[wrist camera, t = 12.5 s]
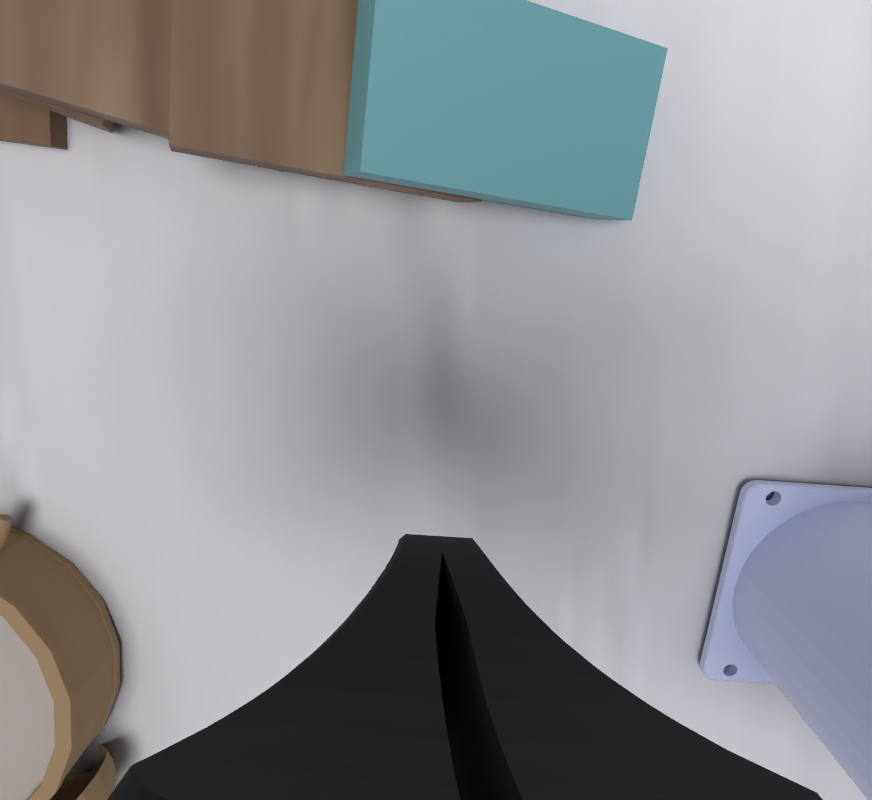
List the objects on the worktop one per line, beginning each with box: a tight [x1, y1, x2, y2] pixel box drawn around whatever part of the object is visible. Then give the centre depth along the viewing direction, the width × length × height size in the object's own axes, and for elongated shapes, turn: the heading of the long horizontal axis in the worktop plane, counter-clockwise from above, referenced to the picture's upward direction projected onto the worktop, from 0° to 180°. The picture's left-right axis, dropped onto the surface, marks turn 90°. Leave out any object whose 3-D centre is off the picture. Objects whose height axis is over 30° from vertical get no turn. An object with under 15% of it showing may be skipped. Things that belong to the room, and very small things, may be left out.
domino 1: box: [0, 0, 283, 172], centre depth 14 cm, size 2×4×8 cm
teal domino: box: [344, 0, 667, 220], centre depth 15 cm, size 2×4×8 cm
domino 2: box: [169, 0, 481, 202], centre depth 15 cm, size 2×4×8 cm
